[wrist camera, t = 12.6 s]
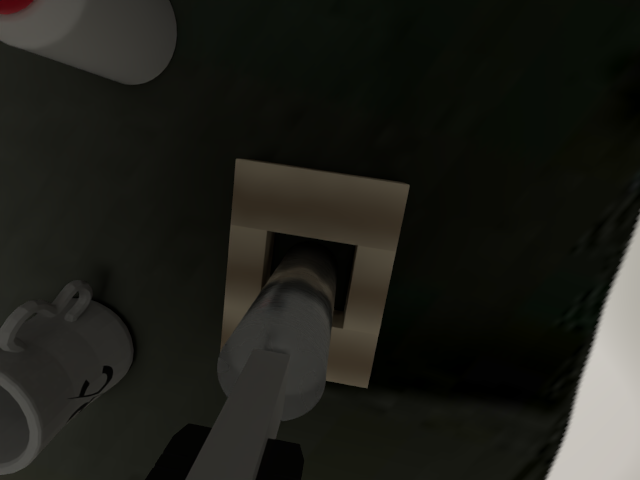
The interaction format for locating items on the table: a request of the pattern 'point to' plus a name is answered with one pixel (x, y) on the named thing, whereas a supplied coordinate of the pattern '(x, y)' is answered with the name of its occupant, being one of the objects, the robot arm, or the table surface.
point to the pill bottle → (95, 35)
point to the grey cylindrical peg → (289, 326)
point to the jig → (320, 223)
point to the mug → (55, 368)
